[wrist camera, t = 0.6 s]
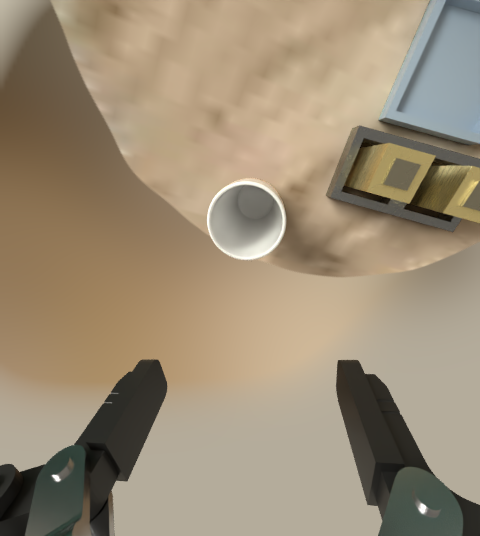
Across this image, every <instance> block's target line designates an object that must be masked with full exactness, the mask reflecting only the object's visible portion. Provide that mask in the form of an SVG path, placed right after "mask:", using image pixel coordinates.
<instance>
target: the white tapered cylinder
mask: <svg viewBox="0 0 480 536" xmlns="http://www.w3.org/2000/svg"><path fill="white" fill-rule="evenodd" d="M207 225H208V230H209V234H210V236H211V238H212V240H213V242H214V243H215V245H216V246H217V247H218V248H219V249H220V250H221V251H222V252H224V253H225V254H227V255H229V256H230V257H233V258H236V259H240V260H255V259H259V258H262V257H264V256H266V255H268V254H269V253H271V252H272V251H273V250H274V249H275V248H276V247H277V246H278V245H279V243H280V242H281V240H282V238H283V236H284V233H285V229H286V211H285V206H284V203H283V200H282V198H281V196H280V195H279V193H278V192H277V190H276V189H275V188H274V187H273V186H272V185H270V184H269V183H267V182H266V181H263V180H261V179H257V178H243V179H239V180H236V181H234V182H232V183H230V184H228V185H227V186H226V187H224V188H223V189H222V190H221V191H220V192H218V194H217V195H216V196H215V197H214V199H213V200H212V202H211V204H210V207H209V210H208V215H207Z"/></svg>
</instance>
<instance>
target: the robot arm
mask: <svg viewBox="0 0 480 536" xmlns="http://www.w3.org/2000/svg"><path fill="white" fill-rule="evenodd" d="M336 391H337V397H338V402H339V406H340V409H341V413H342V416H343V420H344V423H345V427H346V430H347V434H348V437H349V441H350V444H351V448H352V452H353V455H354V458H355V462H356V466H357V469H358V473H359V476H360V480H361V483H362V487H363V490H364V494H365V497H366V501H367V504H368V505H374V506H378V508H379V511H380V514H381V517H382V525H381V528H380V531H379V534H378V536H480V505H478V504H476V503H473V502H471V501H469V500H466V499H464V498H462V497H461V496H459V495H457V494H456V493H454V492H453V491H451V490H450V489H449V488H447V487H446V486H445V485H444V483H442V482H441V481H440V480H439V479H438V478H437V477H436V476H435V475H434V474H433V472H432V471H431V470H430V468H429V467H428V465H427V463H426V462H425V460H424V458H423V456H422V454H421V452H420V450H419V448H418V446H417V444H416V442H415V440H414V438H413V436H412V435H411V433H410V431H409V429H408V427H407V425H406V423H405V421H404V419H403V417H402V415H400V411H399V409H398V407H397V406H396V404H395V403H394V400H393V398H392V396H391V394H390V392H389V390H388V388H387V386H386V385H385V384H384V383H383V382H382V381H381V380H380V379H379V378H378V377H377V376H376V375H374V374H365V373H364V371H363V369H362V367H361V364H360V363H359V361H358V360H338V364H337V382H336ZM166 392H167V381H166V379H165V376H164V373H163V370H162V367H161V365H160V362H159V361H158V360H141V361H139V362H138V364H137V365H136V367H135V369H134V370H133V371H132V372H128V373H127V374H126V375H125V376H124V377H123V378H122V379H120V381H118V383H117V384H116V386H115V387H114V388H113V390H112V391H111V394H109V396H108V397H107V399H106V400H105V403H104V404H103V405H102V406H101V407H100V409H99V410H98V411H97V413H96V414H95V416H94V417H93V419H92V420H91V422H90V423H89V424H88V426H87V427H86V429H85V430H84V432H83V433H82V435H81V436H80V437H79V439H78V440H77V442H76V443H75V444H74V445H71V446H69V447H66V448H64V449H62V450H61V451H59V452H58V453H56V454H55V455H54V456H53V457H52V458H51V459H50V460H49V461H48V462H47V463H46V464H45V465H41V466H38V467H35V468H31V469H28V470H25V471H22V472H19V471H18V470H17V469H16V468H15V467H14V465H12V464H5V465H1V466H0V536H115V533H114V512H113V495H112V491H111V490H112V488H113V486H114V483H115V482H116V481H128V479H129V476H130V474H131V472H132V470H133V467H134V465H135V463H136V461H137V459H138V456H139V454H140V452H141V449H142V447H143V445H144V443H145V441H146V439H147V436H148V434H149V432H150V429H151V427H152V425H153V423H154V421H155V418H156V416H157V414H158V412H159V410H160V407H161V405H162V403H163V401H164V398H165V396H166Z"/></svg>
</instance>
